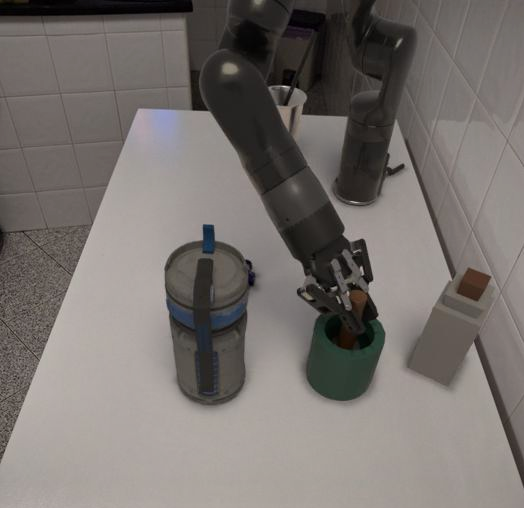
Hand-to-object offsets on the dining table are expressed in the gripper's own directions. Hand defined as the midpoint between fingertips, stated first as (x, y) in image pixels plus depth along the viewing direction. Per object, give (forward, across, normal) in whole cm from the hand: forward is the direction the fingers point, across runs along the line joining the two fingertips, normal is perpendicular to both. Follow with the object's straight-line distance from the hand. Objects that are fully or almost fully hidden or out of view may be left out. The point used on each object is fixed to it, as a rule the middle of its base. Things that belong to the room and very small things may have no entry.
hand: (365, 325), depth 69 cm
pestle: (+7, 0, +10) cm, 12 cm away
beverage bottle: (-2, -14, +20) cm, 25 cm away
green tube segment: (+8, 0, +10) cm, 13 cm away
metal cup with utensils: (-23, +44, +41) cm, 65 cm away
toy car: (-12, +5, +30) cm, 33 cm away
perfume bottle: (+15, +12, +3) cm, 20 cm away
